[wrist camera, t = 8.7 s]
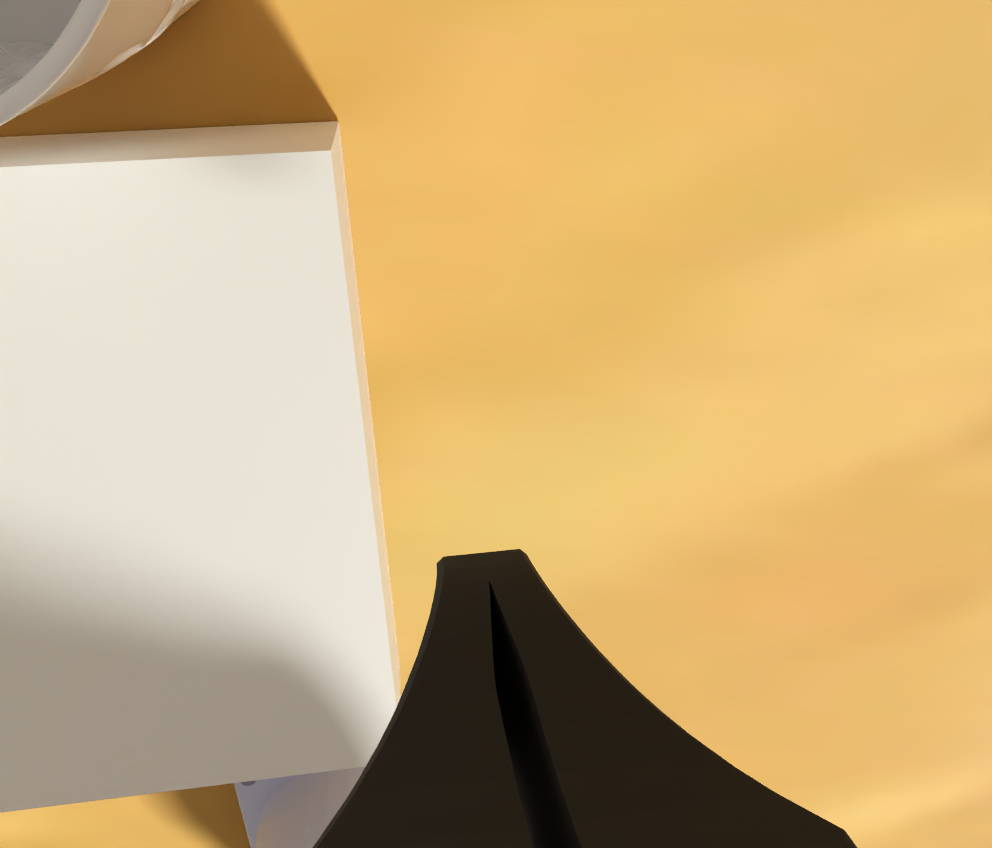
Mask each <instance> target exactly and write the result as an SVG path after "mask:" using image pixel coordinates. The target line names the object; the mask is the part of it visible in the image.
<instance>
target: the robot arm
mask: <svg viewBox="0 0 992 848" xmlns="http://www.w3.org/2000/svg"><path fill="white" fill-rule="evenodd" d="M234 786H235V790H236V794H237V798H238V801H239V805H240V809H241V813H242V816H243V820H244V824H245V828H246V832H247V835H248V839H249V843H250V847H251V848H857V847H856V845H855V844H854V843H853V841H852V840H851V838H850V837H849V836H848V834H847V833H846V831H844V830H843V829H841V828H840V827H838V826H836V825H834V824H832V823H830V822H828V821H827V820H825V819H823V818H821V817H819V816H817V815H816V814H814V813H812V812H810V811H808V810H806V809H804V808H803V807H801V806H799V805H797V804H795V803H793V802H792V801H790V800H788V799H786V798H784V797H782V796H781V795H779V794H777V793H775V792H774V791H772V790H770V789H769V788H767V787H765V786H764V785H762V784H761V783H759V782H758V781H756V780H754V779H753V778H751V777H750V776H748V775H746V774H745V773H743V772H742V771H740V770H739V769H737V768H735V767H734V766H733V765H731V764H730V763H728V762H727V761H726V760H724V759H723V758H722V757H720V756H719V755H717V754H716V753H715V752H713V751H712V750H710V749H709V748H708V747H706V746H705V745H704V744H702V743H701V742H699V741H698V740H697V739H695V738H694V737H692V736H691V735H690V734H688V733H687V732H686V731H685V730H683V729H682V728H681V727H680V726H679V725H677V724H676V723H675V722H674V721H673V720H671V719H670V718H669V717H668V716H666V715H665V714H664V713H663V712H662V711H660V710H659V709H658V708H657V707H656V706H655V705H654V704H653V703H651V702H650V701H649V700H648V699H647V698H646V697H645V696H644V695H643V694H641V693H640V692H639V691H638V690H637V689H636V688H635V687H634V686H633V685H632V684H631V683H630V682H629V681H628V680H627V679H626V678H625V677H624V676H623V675H622V674H621V673H620V672H619V671H618V670H617V669H616V668H615V667H614V666H613V665H612V664H611V663H610V662H609V661H608V660H607V659H606V658H605V657H604V656H603V654H602V653H601V652H600V651H599V650H598V649H597V648H596V647H595V646H594V645H593V643H592V642H591V641H590V640H589V639H588V638H587V637H586V635H585V634H584V633H583V632H582V631H581V629H580V628H579V627H578V626H577V625H576V623H575V622H574V621H573V620H572V619H571V617H570V616H569V615H568V614H567V612H566V611H565V610H564V609H563V607H562V606H561V605H560V603H559V602H558V601H557V599H556V598H555V597H554V595H553V594H552V593H551V591H550V590H549V588H548V587H547V586H546V584H545V583H544V581H543V580H542V578H541V577H540V575H539V574H538V572H537V571H536V569H535V568H534V566H533V565H532V563H531V561H530V560H529V558H528V556H527V554H525V553H524V552H523V551H522V550H520V549H516V550H506V551H496V552H486V553H476V554H466V555H456V556H447V557H443V558H442V559H441V560H440V561H439V562H438V563H437V580H436V588H435V594H434V599H433V603H432V608H431V612H430V616H429V620H428V623H427V626H426V630H425V633H424V636H423V640H422V643H421V646H420V649H419V652H418V655H417V658H416V660H415V663H414V666H413V668H412V671H411V673H410V676H409V678H408V681H407V684H406V686H405V689H404V691H403V694H402V696H401V698H400V700H399V703H398V705H397V707H396V709H395V712H394V714H393V716H392V718H391V720H390V722H389V724H388V726H387V728H386V730H385V732H384V734H383V736H382V738H381V740H380V742H379V744H378V746H377V747H376V749H375V751H374V753H373V754H372V756H371V758H370V760H369V762H368V763H367V765H366V767H358V768H350V769H342V770H334V771H326V772H318V773H310V774H302V775H294V776H286V777H278V778H271V779H263V780H255V781H247V782H239V783H234Z"/></svg>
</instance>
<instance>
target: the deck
mask: <svg viewBox="0 0 992 848" xmlns="http://www.w3.org/2000/svg"><path fill="white" fill-rule="evenodd" d="M400 698H401V693H400V664H399V654H398V645H397V636H396V627H395V618H394V609H393V600H392V591H391V582H390V573H389V564H388V556H387V547H386V538H385V529H384V520H383V511H382V502H381V493H380V484H379V475H378V466H377V457H376V448H375V439H374V430H373V421H372V412H371V403H370V394H369V385H368V377H367V368H366V359H365V350H364V341H363V332H362V323H361V314H360V305H359V296H358V287H357V278H356V269H355V260H354V251H353V242H352V233H351V224H350V215H349V207H348V198H347V189H346V180H345V171H344V162H343V153H342V144H341V135H340V126H339V121H330V122H308V123H287V124H266V125H245V126H224V127H203V128H182V129H161V130H140V131H118V132H97V133H76V134H55V135H34V136H13V137H0V812H8V811H16V810H24V809H32V808H40V807H48V806H56V805H64V804H72V803H80V802H88V801H96V800H104V799H112V798H119V797H127V796H135V795H143V794H151V793H159V792H167V791H175V790H183V789H191V788H199V787H207V786H215V785H223V784H231V783H239V782H247V781H255V780H263V779H271V778H278V777H286V776H294V775H302V774H310V773H318V772H326V771H334V770H342V769H350V768H358V767H366V765H367V763H368V762H369V760H370V758H371V756H372V754H373V753H374V751H375V749H376V747H377V746H378V744H379V742H380V740H381V738H382V736H383V734H384V732H385V730H386V728H387V726H388V724H389V722H390V720H391V718H392V716H393V714H394V712H395V709H396V707H397V705H398V703H399V700H400Z"/></svg>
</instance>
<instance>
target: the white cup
mask: <svg viewBox="0 0 992 848" xmlns="http://www.w3.org/2000/svg"><path fill="white" fill-rule="evenodd" d="M198 1H199V0H0V126H1V125H3V124H5V123H7V122H9V121H11V120H13V119H14V118H16V117H18V116H20V115H22V114H24V113H26V112H28V111H30V110H32V109H34V108H36V107H38V106H40V105H42V104H44V103H46V102H48V101H50V100H52V99H54V98H56V97H58V96H60V95H62V94H64V93H66V92H68V91H70V90H72V89H74V88H76V87H78V86H81V85H83V84H85V83H87V82H89V81H90V80H92V79H94V78H96V77H98V76H100V75H102V74H104V73H105V72H107V71H109V70H110V69H112V68H114V67H115V66H117V65H119V64H120V63H122V62H123V61H125V60H126V59H128V58H129V57H130V56H132V55H134V54H135V53H137V52H138V51H140V50H141V49H143V48H144V47H146V46H147V45H149V44H150V43H151V42H153V41H154V40H155V39H157V38H158V37H159V36H160V35H161V34H162V33H163V32H164V31H165V29H166V28H167V27H168V26H170V25H171V24H172V23H173V22H174V21H176V20H177V19H178V18H179V17H180V16H182V15H183V14H184V13H185V12H186V11H188V10H189V9H190V8H191V7H192V6H193V5H195V4H196V3H197V2H198Z"/></svg>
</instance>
